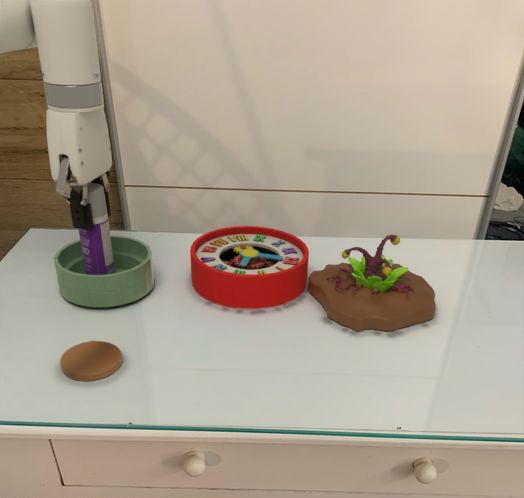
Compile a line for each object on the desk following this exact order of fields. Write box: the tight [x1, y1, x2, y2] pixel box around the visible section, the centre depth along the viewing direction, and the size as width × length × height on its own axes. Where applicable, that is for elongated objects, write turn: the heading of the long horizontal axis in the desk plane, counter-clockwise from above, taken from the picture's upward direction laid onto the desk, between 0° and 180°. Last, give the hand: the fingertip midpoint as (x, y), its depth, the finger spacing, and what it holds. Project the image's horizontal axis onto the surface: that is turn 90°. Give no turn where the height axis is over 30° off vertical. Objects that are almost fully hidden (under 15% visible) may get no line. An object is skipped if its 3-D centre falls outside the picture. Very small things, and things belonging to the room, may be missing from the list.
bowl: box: [53, 235, 155, 308], centre depth 91 cm, size 15×15×6 cm
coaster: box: [59, 340, 123, 382], centre depth 75 cm, size 8×8×1 cm
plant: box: [307, 234, 437, 332], centre depth 90 cm, size 20×20×11 cm
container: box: [74, 183, 115, 275], centre depth 88 cm, size 5×5×15 cm
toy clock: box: [189, 225, 310, 310], centre depth 95 cm, size 20×6×20 cm
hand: (92, 220), depth 86 cm, fingers closed on container, 4 cm apart
